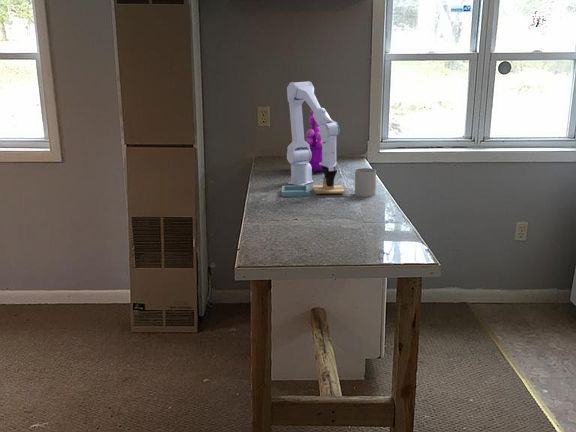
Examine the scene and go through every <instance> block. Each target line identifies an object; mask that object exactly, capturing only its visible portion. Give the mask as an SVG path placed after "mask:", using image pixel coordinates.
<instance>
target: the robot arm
mask: <svg viewBox="0 0 576 432" xmlns="http://www.w3.org/2000/svg"><path fill="white" fill-rule="evenodd" d="M286 92H287V93H286V94H287V95H286V96H287V102H288V105H289V114H290V115H289V116H290V117H289V118H290V127H291V129H290V130H291V140H292V141H291V143H289V145H288V146H287V151H286V152H287V153H286V159H287V161H288V163H289V164H290V174H291V175H290V176H291V177H290V181H289V182H287V185H292V186H307V185H308V184H312V183H314V180H313V177H312V176H313V171H312V167H311V165H310V164H309V161H310V160H311V157H312V154H311V151H310V146H309V144H308V143H307V142H306V140H305V132H304V119H303V107H302V105H303V103H304V102H306V104H307V105H308V106H309V108H310V110H311V109H312V110H313V112H314V113H313V117H314V119H315V121H316V122H317V125H318V126H317V127H320V129H319V133H320V136H321V141H322V163H319V165H323V167H322V169H323V170H322V171H323V175H324V178H325V177H326V182H327V186H333V182H334V183H335V177H336V174H337V172H338V169H336V166H337V165H338V162H337V136H338V135H339V134H340V131H341V129H340V125H339V123H338V121H334V119H332V118H331V117H330V115H329V113H328V111H327V110H326V109H325V108H324V107H322V106H321V105H320V103H319V101H318V99H317V97H316V95H315V87H314V85H313V83H312V82H311V81H310V80H308V81H298V82H297V81H296V82H293V81H291V82H290V83H289V84H288V85H287V87H286ZM300 147H302V148H300ZM297 148H299V149H297Z"/></svg>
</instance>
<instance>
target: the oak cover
mask: <svg viewBox="0 0 576 432" xmlns="http://www.w3.org/2000/svg"><path fill="white" fill-rule="evenodd" d="M312 188H313V189H314V192H315V194H323V193H345V190H346V189H345V190H344V189H343V188H344V187H343V186H342V184H340V183H339V184H335V181H334V182H333V186H327V182H326V177H325V176H324V177H322V184H312Z"/></svg>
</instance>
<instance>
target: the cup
mask: <svg viewBox="0 0 576 432" xmlns="http://www.w3.org/2000/svg"><path fill="white" fill-rule="evenodd" d="M354 178H355V179H354V195H355V196H356V197H363V198H364V197H365V198H367V197H368V198H369V196H370V197H374V196H376V187H377V186H376V183H377V169H375V168H370V167H369V168H368V167H362V168H356V169H355V170H354Z"/></svg>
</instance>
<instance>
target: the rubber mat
mask: <svg viewBox="0 0 576 432" xmlns="http://www.w3.org/2000/svg"><path fill="white" fill-rule="evenodd" d="M343 189H344V190H345V193H323V194H315V192H314V189H313V187H312V188H311V192H312V198H348V194H347V190H346V187H343Z"/></svg>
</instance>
